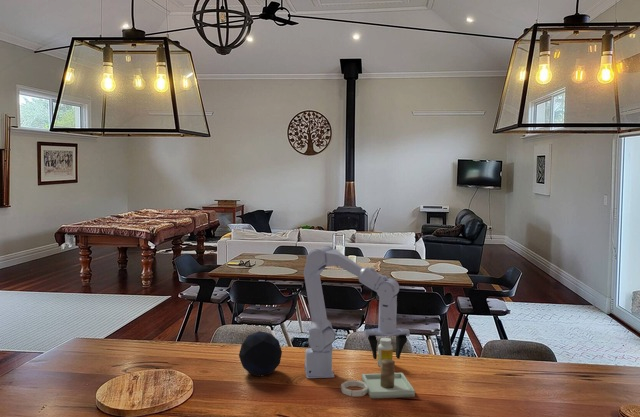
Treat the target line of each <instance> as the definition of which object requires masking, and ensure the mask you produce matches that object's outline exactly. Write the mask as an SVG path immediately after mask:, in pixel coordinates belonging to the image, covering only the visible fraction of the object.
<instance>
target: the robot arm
mask: <svg viewBox="0 0 640 417" xmlns="http://www.w3.org/2000/svg"><path fill="white" fill-rule="evenodd" d="M305 258H306V262H305V264H304V268H303V278H304V284H305V290H306V295H307V302H308V308H309V313H310V314H309V315H310V319H311V324H310V326H309V329H308V332H309V335H308V340H307V342H308V345H309V348H305V351H304V352H305V353H304V371H305V377H306V379H324V378H325V379H326V378H327V379H329V378H335V374H334V371H333V343H334V342H335V340H336V332H335V330H334V328H333V326H332V322H331V321H330V320H329V319H328V316H327V310H326V305H325V299H324V294H323V293H324V292H323V286H322V281H321V273H322V272H323V271H324V269H326V268H327V267H333V266H334V267H336V266H337V267H339V268H341V269H343V270H345V271H347V272H349V273H350V274H352V275H354V276H356V277H357V278H358V282H359V283H361V284H362V285H364V286H366V287H367V288H369V289H371V291H374V292H376V294H377V296H378V297H379V299H378V300H379V301H378V327H377V328H370V329H369V328H368V329H364V330H363V331H364V333H363V334H364V337H365V338H367V340H368V342H369V345H370V348H371V352H372V358H373V359H374V360H377V359H378V339H377V337H395V342H396V346H395V347H396V348H395V357H396V359H399V360H400V358H401V354H402V351H403V349H404V346H405V345H406V343H407V341H408V337H410V335H411V333H410V330H409V328H401V327H400V328H399V327H397V316H398V315H397V314H398V313H397V312H398V311H397V309H398V308H397V307H398V301H397V300H398V299H397V298H398V293H399V292H400V284H399V282H398V281H397V280H395V278H393V277H388V276H387V275H383V274H381V273H379V272H377V270H376V268H375V267H373V266H372V267H369V266H365V267H363V266H361V265H359V264H358V263H356V262H355V261H354V260H352V259H351V258H349V257H348V256H346V255H344V254H343V253H341V252H340V251H339V250H338V249H336V248H333V247H332V246H330V245H324V246H322V247H318V248H314V249H311V251H310V252H309V253H308V254H307V255H306V256H305Z"/></svg>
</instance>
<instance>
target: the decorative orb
mask: <svg viewBox="0 0 640 417" xmlns="http://www.w3.org/2000/svg"><path fill="white" fill-rule="evenodd" d="M238 353H239V354H238V357H239V360H240V362H241V365H242V368H243V369H244V370H245V371H247V373H249V375H253V376H257V377H264V376H267V375H269V374H271V373H273V372H274V371H275V370H277V368H278V366H280V364H281V361H282V360H281V359H282V353H283V350H282V347H281V345H280V341H279V339H277V337H275V336H274V335H273V334H272V333H269V332H266V331H261V330H260V331H256V332H254V333H251V334H249V335H247V336H246V338H245V339H244V341H243V342H242V343H241V345H240V348H239V352H238Z"/></svg>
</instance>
